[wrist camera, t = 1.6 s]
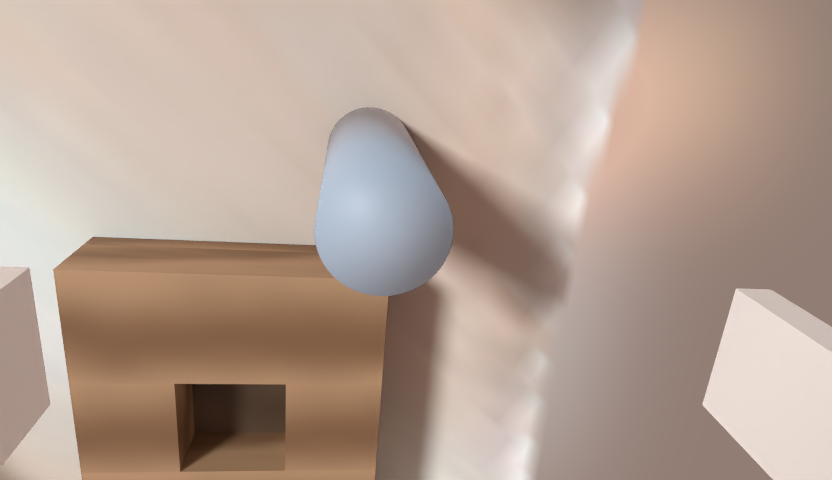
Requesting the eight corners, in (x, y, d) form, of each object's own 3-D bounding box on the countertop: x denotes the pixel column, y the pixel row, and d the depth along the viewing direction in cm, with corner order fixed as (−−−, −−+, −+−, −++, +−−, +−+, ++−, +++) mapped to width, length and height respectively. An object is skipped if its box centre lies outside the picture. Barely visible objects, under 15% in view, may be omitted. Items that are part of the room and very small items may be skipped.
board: (92, 237, 28) (53, 269, 24) (384, 248, 30) (389, 280, 26) (121, 500, 33) (93, 560, 29) (367, 495, 35) (369, 551, 31)
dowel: (329, 104, 27) (316, 160, 16) (414, 110, 27) (460, 169, 16) (326, 188, 28) (312, 294, 17) (408, 192, 29) (446, 297, 18)
